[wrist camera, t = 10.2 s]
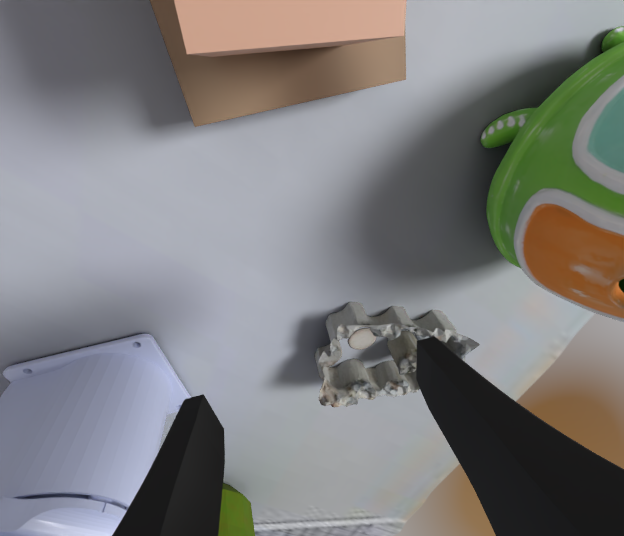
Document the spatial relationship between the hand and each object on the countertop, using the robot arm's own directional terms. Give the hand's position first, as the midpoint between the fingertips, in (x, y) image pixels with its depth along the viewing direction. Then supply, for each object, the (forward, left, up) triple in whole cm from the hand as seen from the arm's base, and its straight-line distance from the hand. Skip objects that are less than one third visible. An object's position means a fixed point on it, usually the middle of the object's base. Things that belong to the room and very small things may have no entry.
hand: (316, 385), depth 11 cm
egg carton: (+6, -10, -11) cm, 16 cm away
